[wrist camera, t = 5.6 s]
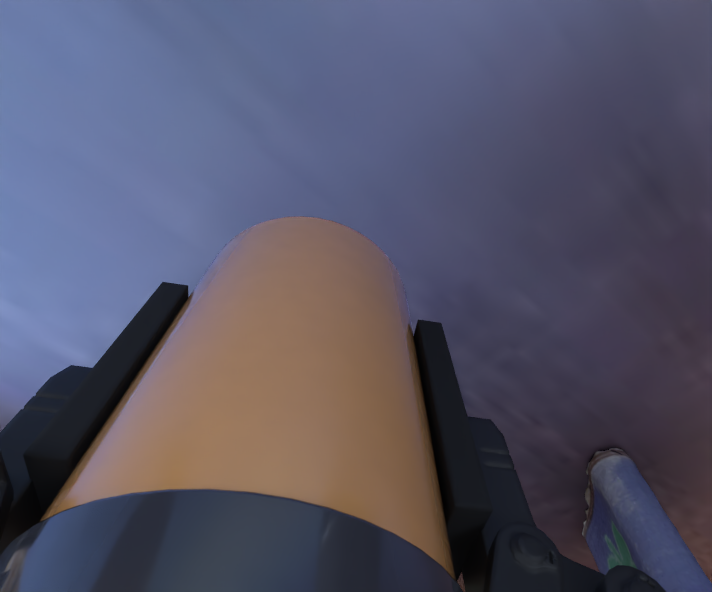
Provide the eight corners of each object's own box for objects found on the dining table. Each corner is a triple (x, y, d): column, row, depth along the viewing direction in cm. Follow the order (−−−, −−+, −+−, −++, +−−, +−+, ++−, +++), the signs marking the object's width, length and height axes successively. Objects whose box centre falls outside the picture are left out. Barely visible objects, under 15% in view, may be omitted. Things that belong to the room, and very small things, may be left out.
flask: (586, 449, 26) (718, 682, 16) (639, 441, 25) (804, 675, 16) (578, 542, 30) (678, 767, 21) (623, 537, 30) (745, 762, 21)
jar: (437, 230, 14) (608, 666, 4) (389, 404, 18) (423, 853, 8) (196, 191, 14) (-231, 588, 4) (198, 379, 18) (-16, 827, 8)
